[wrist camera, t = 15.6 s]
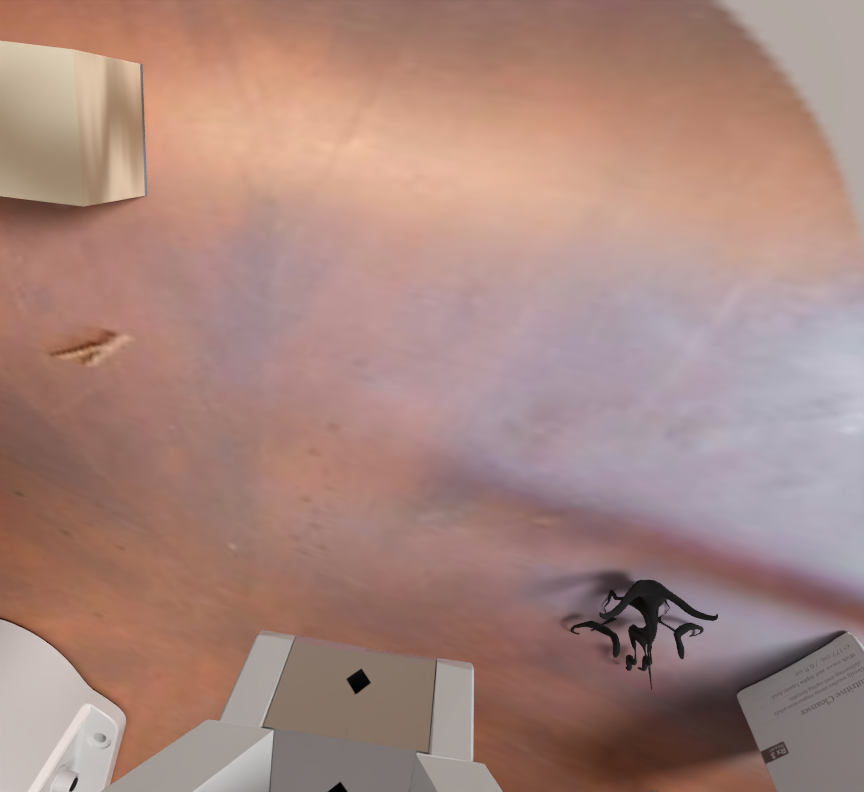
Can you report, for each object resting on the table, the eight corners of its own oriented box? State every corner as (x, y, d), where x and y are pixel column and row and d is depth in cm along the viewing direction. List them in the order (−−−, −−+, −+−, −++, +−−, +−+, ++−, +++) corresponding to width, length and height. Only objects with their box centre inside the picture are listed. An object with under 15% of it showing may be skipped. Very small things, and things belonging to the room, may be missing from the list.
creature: (690, 645, 44) (713, 557, 39) (714, 725, 39) (743, 636, 35) (565, 642, 44) (574, 555, 40) (575, 721, 40) (587, 633, 35)
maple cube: (-55, 189, 29) (31, 180, 35) (83, 206, 29) (147, 194, 35) (-77, 31, 27) (18, 49, 33) (72, 49, 27) (142, 64, 32)
